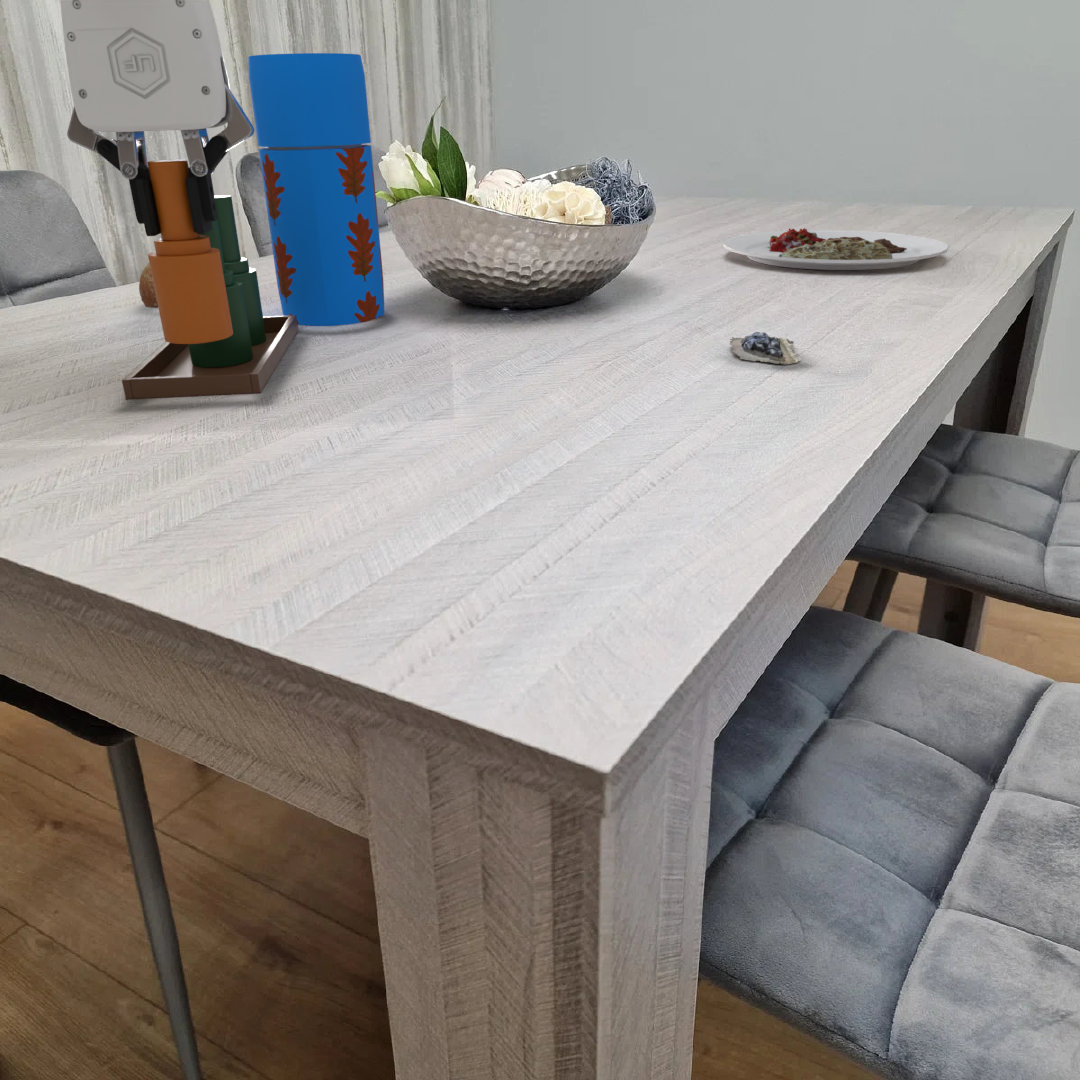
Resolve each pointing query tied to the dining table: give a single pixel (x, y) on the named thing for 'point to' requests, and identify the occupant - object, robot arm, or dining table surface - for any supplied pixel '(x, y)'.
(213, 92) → the robot arm
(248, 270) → the green bottle
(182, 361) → the tray
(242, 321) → the green bottle
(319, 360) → the dining table surface
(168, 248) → the amber bottle
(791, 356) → the blueberry tart
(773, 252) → the plated food
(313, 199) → the thermos
